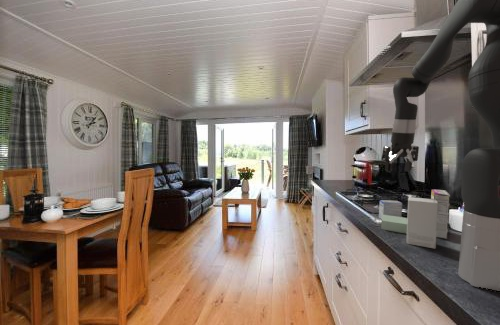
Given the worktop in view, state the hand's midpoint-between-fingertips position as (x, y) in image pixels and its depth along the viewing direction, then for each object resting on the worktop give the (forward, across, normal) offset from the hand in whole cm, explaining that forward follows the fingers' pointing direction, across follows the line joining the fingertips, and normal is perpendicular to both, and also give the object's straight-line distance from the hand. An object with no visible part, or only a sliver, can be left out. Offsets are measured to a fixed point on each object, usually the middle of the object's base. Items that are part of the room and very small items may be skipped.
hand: (397, 171), depth 96 cm
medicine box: (+25, +5, +7) cm, 26 cm away
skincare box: (+21, -4, -18) cm, 28 cm away
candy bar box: (+23, +12, -11) cm, 28 cm away
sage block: (+24, 0, -3) cm, 24 cm away
